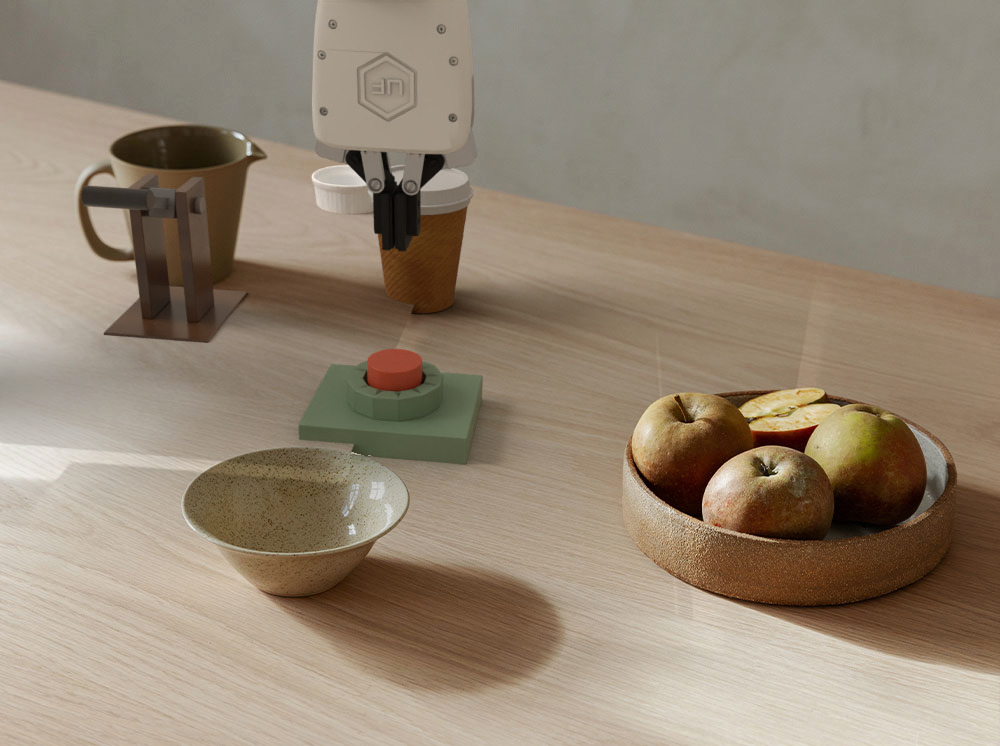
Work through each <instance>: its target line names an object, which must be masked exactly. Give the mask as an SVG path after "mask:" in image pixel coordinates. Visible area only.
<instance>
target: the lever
mask: <svg viewBox="0 0 1000 746" xmlns="http://www.w3.org/2000/svg"><path fill="white" fill-rule="evenodd" d="M177 189H178V188H162V187H159V188H149V190H148V189H133V188H129V187H119V186H118V187H117V186H102V185H101V186H100V185H89V184H88V185H84V186H83V187H82V190H81V196H80V197H81V201H82V202H81V203H82V205H83V206H84V207H87V208H88V207H91V208H104V209H121V210H129V209H132V210H147V211H149V217H160V218H162V219H176V220H177V213H176V203H175V191H176V190H177Z"/></svg>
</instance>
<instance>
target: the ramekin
mask: <svg viewBox="0 0 1000 746" xmlns="http://www.w3.org/2000/svg"><path fill="white" fill-rule="evenodd" d="M311 181H312V184H313V188H314V195H315V202H316V206H317V207H318V208H319V209H321V210H323V211H325V212H329V213H335V214H341V215H362V214H363V215H364V214H369V213H371V214H372V213H373V203H372V201H371V197H370V196H369V194H368V188H367V184H366V183H365V182H364V180H363V179H362V178H361V177H360V176H359V175H358V174H357V173H356V172H355V171H354V170H353V169H352V168H351V167H350V166H349V165H348V164H339V165H332V166H326V167H322V168H319V169H316V170H315V171H314V172H312V174H311Z"/></svg>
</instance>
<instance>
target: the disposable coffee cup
mask: <svg viewBox="0 0 1000 746" xmlns="http://www.w3.org/2000/svg"><path fill="white" fill-rule="evenodd" d="M404 167H405V164H397V165H391V171H392V175H393V176H394V177H395V182H397V185H399V183H400V182H401V180H402V178H403V174H404ZM368 194H369V196H370V197H371V201H372V203H373V193H372V192H371V191H369V189H368ZM473 197H474V189H473V187H472V186H471V185H470V179H469V176H468V174H466V173H465V172H464V171H462V170H459V169H457V168H451V169H443V170H440V171H439V172H438V173H437V174H436V175H435V176H434V177H433V178H432V179H431V180H430V181H428V182H427V183H426V184H425V185H424V186H423V187H422V188H421V228H420V233H419V236H412V240H411V242H410V244H409V246H408V248H407V250H406V252H405V251H398V249H395V247H394V248H393V249H391V250H390V251H388V250H382V234H377V239H378V246H379V247H378V248H379V253H380V263H381V266H382V267H381V268H382V275H383V282H384V283H383V284H384V290H385V294H386V295H387V297H388V298H389V299H391V300H394V301H396V302H399V303H402V304H407V305H413V307H412V309H411V312H410V313H413V314H431V313H436V312H437V313H438V312H441V311H443V310H447V309H448V308H450V307H452V305H453V304H454V301H455V294H456V293H455V292H456V285H457V280H458V273H459V266H460V259H461V253H462V246H463V240H464V233H465V227H466V226H465V225H466V220H467V214H468V213H467V212H468V208H469V207H468V206H469V205H470V203H471V199H472V198H473Z"/></svg>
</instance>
